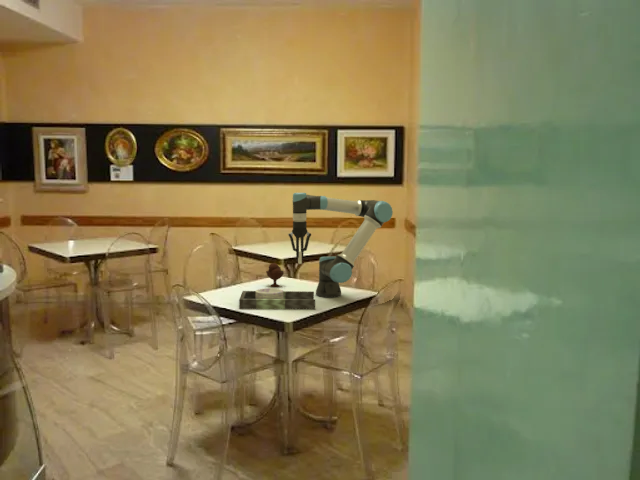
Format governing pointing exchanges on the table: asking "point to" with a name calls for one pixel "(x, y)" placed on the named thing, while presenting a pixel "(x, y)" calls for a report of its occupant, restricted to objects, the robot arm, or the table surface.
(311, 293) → the shallow tray
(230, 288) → the table surface
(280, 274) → the ice cream bowl
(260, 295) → the paper bowls
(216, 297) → the table surface
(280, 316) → the table surface
